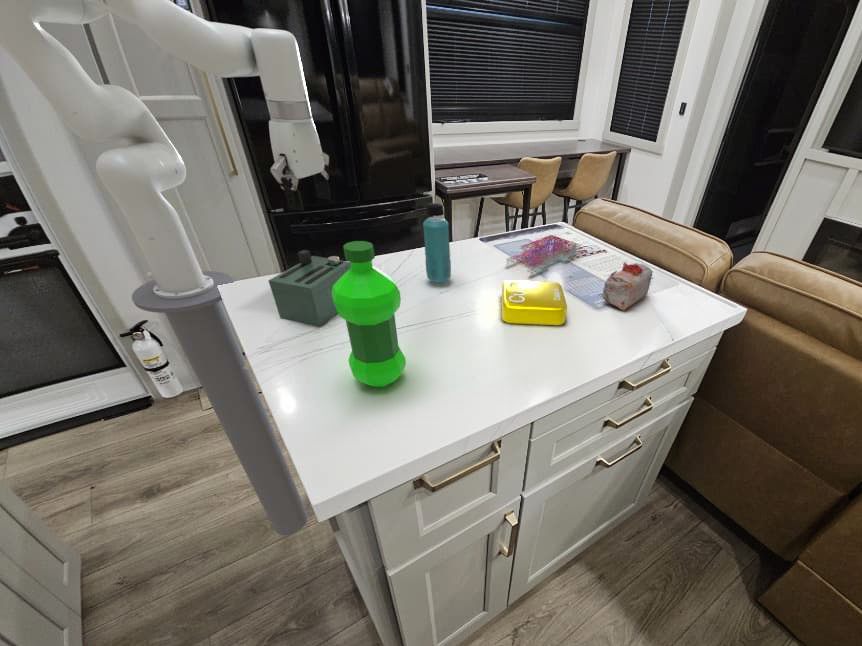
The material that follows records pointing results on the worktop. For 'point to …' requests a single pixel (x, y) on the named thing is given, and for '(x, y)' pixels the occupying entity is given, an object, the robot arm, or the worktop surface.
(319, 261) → the toaster
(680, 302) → the worktop surface
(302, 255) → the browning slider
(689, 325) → the worktop surface
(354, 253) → the plastic bottle
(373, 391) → the worktop surface
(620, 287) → the food item
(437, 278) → the beverage bottle
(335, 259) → the button
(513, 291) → the element tile
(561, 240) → the purple mottled irregular slab
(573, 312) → the worktop surface
